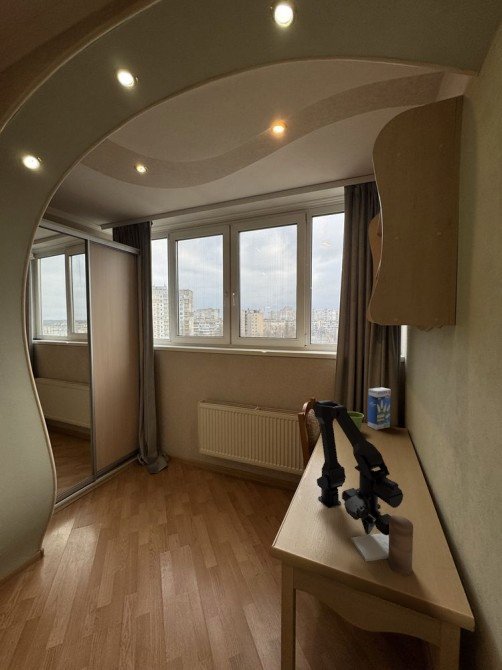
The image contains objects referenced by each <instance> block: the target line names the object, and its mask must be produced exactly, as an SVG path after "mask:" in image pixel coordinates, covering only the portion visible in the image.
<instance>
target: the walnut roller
mask: <svg viewBox="0 0 502 670" xmlns="http://www.w3.org/2000/svg"><path fill="white" fill-rule="evenodd" d="M390 516H391V517H390V518H389V535H388V536H389V553H388V558H387V559H388V560H387V563H388V566H389V567H390V569H391V570H392V571H393V572H394V573H396V574H398V575H400V576H403V577H405V576H406V577H407V576H410V575H411V574H412V573H413V551H414V550H413V546H414V545H413V544H414V525H413V523H412V521H410V520H409V519H408V518H406V517H404V516H402V515H398V514H396V515H394V514H393V515H390Z"/></svg>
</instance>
